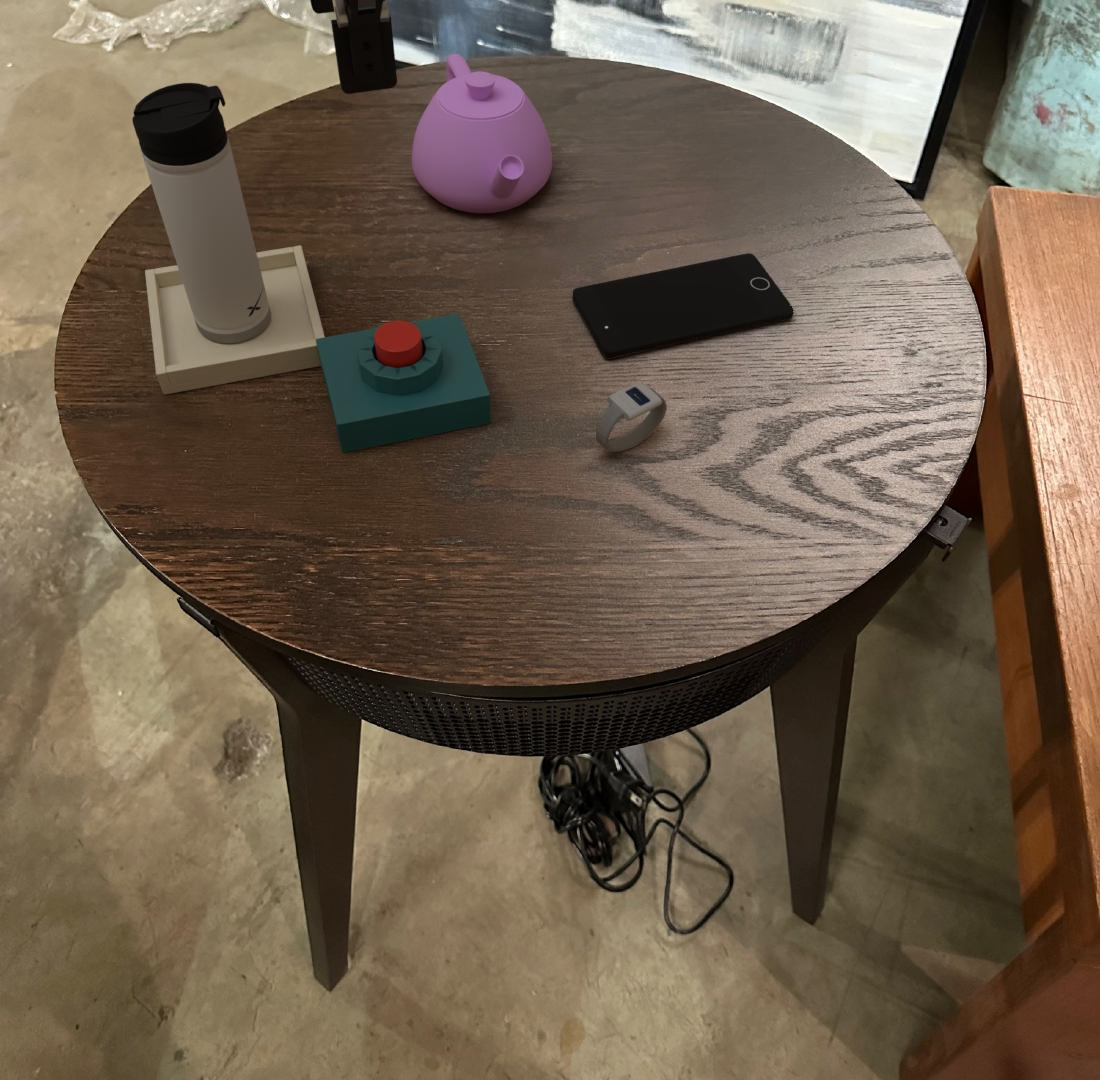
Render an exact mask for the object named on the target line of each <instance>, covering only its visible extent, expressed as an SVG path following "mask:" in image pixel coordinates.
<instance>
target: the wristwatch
mask: <svg viewBox="0 0 1100 1080" xmlns="http://www.w3.org/2000/svg"><path fill="white" fill-rule="evenodd" d="M606 402H607V404H608V405H610V406H609V407H608V408H607V409H606V410H605V412H604V413H603V415H602V416H601V418H600V420H599V421H598V424H597V427H596V429H595V439H596V441H597V442H598V443H599V444H600V445H601V446H602V447H603V448H604V449H605V450H606V451H608V452H610V453H611V452H612V453H620V452H625V451H627V450H630V449H632V448H635V447H636V446H638V445H640V444H641V443H643V442H644V441H645V440H646V439H648V438H649V437H650V436H651V435H652V434H653V433H654V431H655V430H656V429H657V428H658V427H659V426H660V424H661V423H662V421H663V420H664V418H665V416H666V413H667V409H668V407H667V401H666V400H665V399H664V397H662V395H660V393H658V392H657V391H656V390H655V389H654V388H652V387H649V386H648V385H646V383H644V381H642V380H639V381H636V382H634V383H632V384H629V385H628V386H626V387H625V388H623V389H620V390H619V391H616V392H615V393H612V394H611V395H609V396H607V397H606ZM648 412H649V413H648ZM646 413H648V414H647V415H646V416H645V418H644V419H643V420H642V421H641V422H640V423H639V424H638V426H636V427H635V428H634V429H632V430H631V431H630V432H628V433H627V434H625V435H623V436H621V437H618V438H615V439H610V436H611V433H612V431H613V429H614V427H615V426H616V424H617V423H618V421H619V420H620V419H621V418H623V419H624V420H625V421H627V422H631V421H633V420H635V419H637V418H639V417H640V416H643V415H644V414H646Z"/></svg>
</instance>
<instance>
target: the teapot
mask: <svg viewBox="0 0 1100 1080" xmlns="http://www.w3.org/2000/svg"><path fill="white" fill-rule="evenodd" d="M445 71H446V79H447V81H446V82H445V83H444V84H442V85H441V86H440V87H439V88H438V90H437V91H436V92H435V94H434V95H433V96H432V98H431V100H430V102H429V103H428V105H427V107H426V108H425V110H424V112H423V113H422V115H421V117H420V120H419V122H418V124H417V127H416V130H415V132H414V137H413V141H412V148H411V149H412V150H411V151H412V152H411V166H412V172H413V174H414V176H415V178H416V180H417V181H418V183H419V185H420V186H421V187H422V188H423V189H424V190H425V192H427V193H428V194H429V195H430V196H432V197H433V198H434V199H436V200H437V201H438V202H439V203H441V204H443V205H444V206H446V207H449V208H451V209H454V210H457V211H460V212H464V213H471V214H493V213H501V212H505V211H509V210H512V209H515V208H517V207H519V206H521V205H523V204H525V203H526V202H528V201H529V200H530V199H532V198H533V197H534V196H535V195H536V194H537V193H538V192H539V191H540V190H541V189H542V188H543V187H544V186H545V184H547V182H548V180H549V178H550V176H551V173H552V170H553V152H552V146H551V145H552V144H551V142H550V138H549V133H548V130H547V129H546V125H545V123H544V121H543V119H542V117H541V115H540V114H539V112H538V111H537V109H536V107H535V105H534V104H533V103H532V101H531V99H530V98H529V97H528V95H527V94H526V92H525V91H524V90H523V89H522V88H521V86H519V85H518V84H517V83H516V82H515V81H513V80H511V79H509V78H507V77H504V76H500V75H497V74H492V73H490V72H488V71H483V70H482V71H479V70H478V71H473V72H472V70H471V67H470V66H469V65H468V62H467V61H466V60H465V58H464V57H463V56H462V55H461V54H458V53H451V54H449V55H448V56H447V58H446V61H445Z"/></svg>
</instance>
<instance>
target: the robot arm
mask: <svg viewBox="0 0 1100 1080" xmlns="http://www.w3.org/2000/svg"><path fill="white" fill-rule="evenodd" d="M309 1H310V6H311V8H312V9H311V10H312V11H313V12H314V13H315V14H317V15H318V14H319V15H320V14H329V13H334V15H335V19H331V20H330V24H331V30H332V38H333V44H334V51H335V52H334V53H335V58H336V65H337V72H338V79H339V85H340V88H341V90H342V92H343V93H344V94H346V95H352V94H359V93H367V92H373V91H381V90H388V89H393V88H395V87H396V86H397V84H398V75H397V65H396V56H395V55H396V54H395V46H394V45H395V44H394V35H393V33H394V32H393V26H392V17H391V14H390V10H389V5H388V0H309Z"/></svg>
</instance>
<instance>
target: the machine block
mask: <svg viewBox="0 0 1100 1080" xmlns="http://www.w3.org/2000/svg"><path fill="white" fill-rule="evenodd" d="M462 319H463V318H462V317H461V315H460V313H453V314H449V315H443V316H437V317H432V318H427V319H420V320H415V321H408V322H409V323H412V324H414V325H415V326H416V327H417V328H418V329H419V330H420V332H421V340H422V351H423V352H422V356H421V358H420V359H419V361H417V362H416V363H415V364H413V365H411V366H408V367H402V368H394V367H388V366H386V365H384V364H382V363H381V362H380V361H379V360H378V358H377V355H376V348H375V341H374V335H375V333H376V331H377V329H378V328H379V327H381V326H382V325H384V324H385V323H383V324H379V325H377V326H376V327H374V328H370V329H365V330H358V331H353V332H348V333H342V334H335V335H331V336H330V335H329V336H325V337H324V338H319V339H316V343H317V348H318V353H319V358H320V363H321V366H320V367H321V371H322V375H323V376H322V377H323V380H324V384H325V387H326V392H327V396H328V400H329V404H330V408H331V412H332V416H333V419H334V425H335V428H336V433H337V437H338V440H339V441H338V442H339V444H340V448H341V449H340V450H341V453H343V454H344V453H349V452H354V451H359V450H364V449H365V450H366V449H370V448H374V447H379V446H384V445H390V444H393V443H399V442H404V441H409V440H413V439H419V438H425V437H429V436H435V435H439V434H444V433H449V432H453V431H458V430H463V429H464V430H465V429H468V428H469V429H470V428H474V427H479V426H485V425H488V424H491V423H492V414H491V413H492V411H491V409H492V407H491V393H490V390H489V388H488V385H487V382H486V381H485V377H484V375H483V372H482V369H481V366H480V365H479V362H478V359H477V357H476V354H475V351H474V348H473V346H472V343H471V341H470V338H469V335H468V333H467V330H466V328H465V325H464V322H463V320H462Z"/></svg>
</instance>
